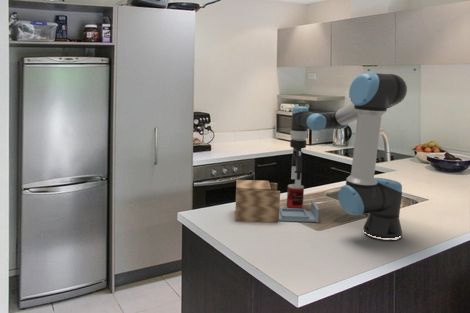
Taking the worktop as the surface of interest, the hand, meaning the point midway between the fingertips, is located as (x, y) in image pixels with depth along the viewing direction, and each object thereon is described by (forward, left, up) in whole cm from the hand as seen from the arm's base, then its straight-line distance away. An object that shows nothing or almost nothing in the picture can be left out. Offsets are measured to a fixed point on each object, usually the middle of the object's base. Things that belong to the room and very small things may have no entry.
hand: (295, 182), depth 206 cm
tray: (-8, +14, -12) cm, 20 cm away
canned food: (0, 0, -13) cm, 13 cm away
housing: (+6, +24, -13) cm, 28 cm away
